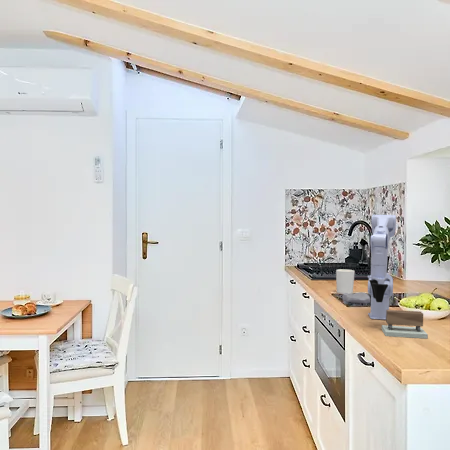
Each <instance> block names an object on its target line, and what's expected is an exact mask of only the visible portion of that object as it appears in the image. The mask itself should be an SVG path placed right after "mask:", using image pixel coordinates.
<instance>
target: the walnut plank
mask: <svg viewBox="0 0 450 450" xmlns="http://www.w3.org/2000/svg"><path fill="white" fill-rule="evenodd" d="M385 323H386V325H388V324H390V325H392V326H405V327H416V326H420V327H424V313H423V312H422V311H421V310H420V311H419V310H417V311H416V310H403V309H402V310H400V309H399V310H398V309H389V310H386V320H385Z"/></svg>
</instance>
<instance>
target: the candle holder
mask: <svg viewBox="0 0 450 450" xmlns="http://www.w3.org/2000/svg"><path fill="white" fill-rule="evenodd" d="M355 273H356V272H355V270H354V269H353V270H352V269H346V268H345V269H344V268H343V269H341V268H340V269H336V270H335V276H336V277H335V279H336V280H335V281H336V293H337V294H342V295H343V294H344V293H348V294H354V283H355Z"/></svg>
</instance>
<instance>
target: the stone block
mask: <svg viewBox="0 0 450 450" xmlns="http://www.w3.org/2000/svg"><path fill="white" fill-rule="evenodd" d="M342 300H343V302H344V301H345V302H346V303H349V302H351V303H353V304H371V296H370V295H369V293H367V292H360V291H359V292H355V293H354V292H353V293H352V294H348V293H344V294H342Z"/></svg>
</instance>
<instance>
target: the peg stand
mask: <svg viewBox="0 0 450 450" xmlns="http://www.w3.org/2000/svg"><path fill="white" fill-rule="evenodd" d="M381 331H382V332H383V334H384V336H385V337H395V338H409V339H410V338H412V339H413V338H414V339H428V335H429V334H428V333H427V332H426V331H425V330H424V329H423V328H422V326H405V325H390V324H386V325H383V324H381Z"/></svg>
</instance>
